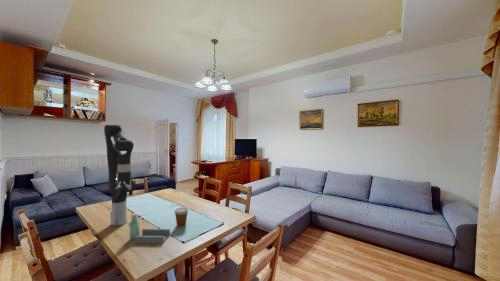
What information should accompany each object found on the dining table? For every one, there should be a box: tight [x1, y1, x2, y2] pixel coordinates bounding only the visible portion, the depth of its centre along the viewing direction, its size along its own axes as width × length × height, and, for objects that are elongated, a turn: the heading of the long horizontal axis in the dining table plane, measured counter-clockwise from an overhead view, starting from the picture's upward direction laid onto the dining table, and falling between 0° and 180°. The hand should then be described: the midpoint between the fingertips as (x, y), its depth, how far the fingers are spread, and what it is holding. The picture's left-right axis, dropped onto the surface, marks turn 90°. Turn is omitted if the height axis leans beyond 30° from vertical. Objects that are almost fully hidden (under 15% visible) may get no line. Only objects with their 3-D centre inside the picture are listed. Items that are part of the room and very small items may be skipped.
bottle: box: [129, 212, 140, 242], centre depth 128 cm, size 5×5×16 cm
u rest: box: [133, 228, 171, 244], centre depth 129 cm, size 18×10×4 cm, turn 90°
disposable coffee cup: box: [174, 207, 189, 228], centre depth 147 cm, size 10×10×12 cm
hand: (124, 194), depth 130 cm, fingers open, 8 cm apart
